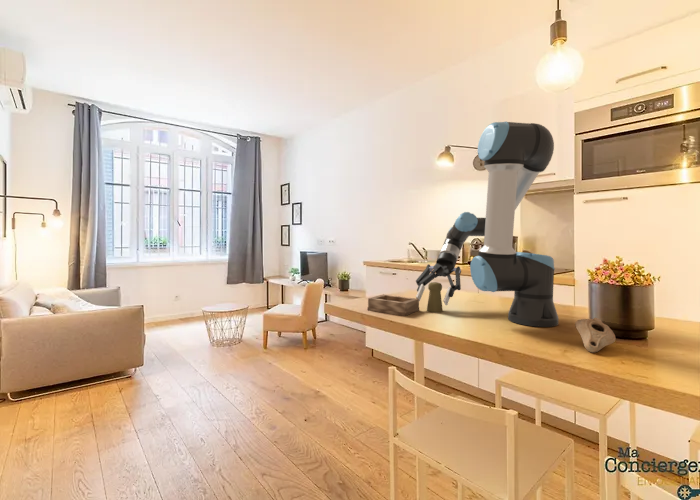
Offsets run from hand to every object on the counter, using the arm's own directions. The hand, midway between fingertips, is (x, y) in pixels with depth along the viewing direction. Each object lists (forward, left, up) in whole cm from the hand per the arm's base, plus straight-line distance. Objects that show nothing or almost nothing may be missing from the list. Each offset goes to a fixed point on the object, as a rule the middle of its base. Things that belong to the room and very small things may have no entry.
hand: (431, 301), depth 133 cm
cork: (0, -3, -4) cm, 5 cm away
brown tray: (+13, +6, -4) cm, 15 cm away
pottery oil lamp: (-51, +13, -4) cm, 53 cm away
